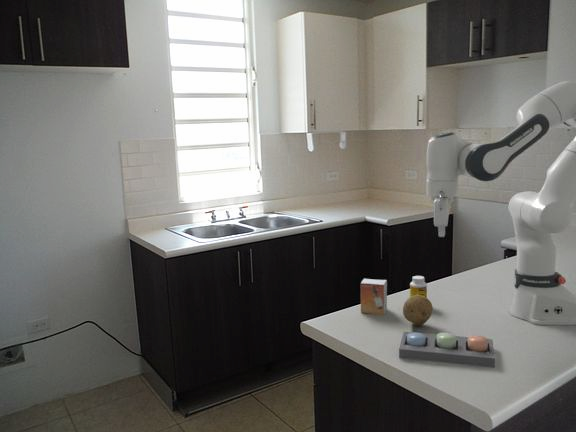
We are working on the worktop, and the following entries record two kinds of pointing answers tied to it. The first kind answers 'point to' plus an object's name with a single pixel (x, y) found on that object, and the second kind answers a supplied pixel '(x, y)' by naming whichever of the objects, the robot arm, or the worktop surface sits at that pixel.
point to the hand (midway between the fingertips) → (441, 235)
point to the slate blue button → (416, 339)
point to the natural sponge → (417, 309)
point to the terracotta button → (477, 343)
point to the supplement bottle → (418, 286)
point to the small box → (374, 296)
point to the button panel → (447, 352)
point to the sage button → (446, 341)
